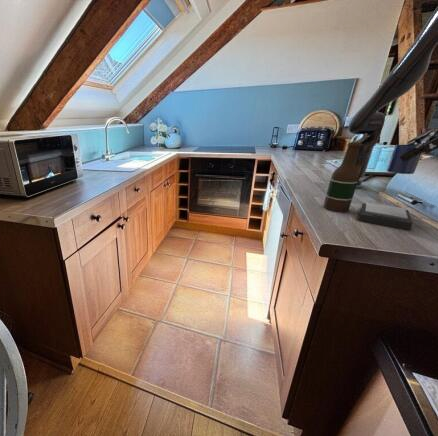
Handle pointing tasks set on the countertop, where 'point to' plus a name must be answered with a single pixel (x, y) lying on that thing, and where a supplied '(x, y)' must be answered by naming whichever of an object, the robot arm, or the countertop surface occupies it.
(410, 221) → the kitchen scale
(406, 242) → the countertop surface
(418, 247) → the countertop surface
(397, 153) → the blue pot
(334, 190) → the beer bottle
